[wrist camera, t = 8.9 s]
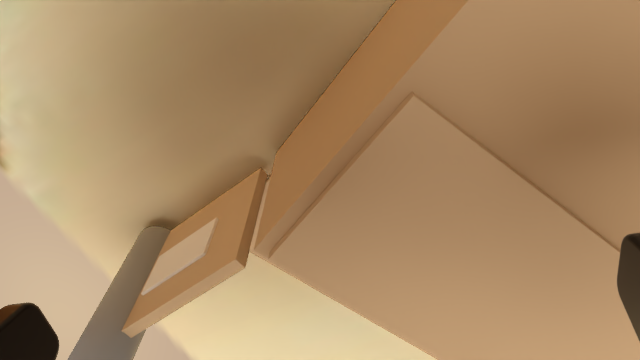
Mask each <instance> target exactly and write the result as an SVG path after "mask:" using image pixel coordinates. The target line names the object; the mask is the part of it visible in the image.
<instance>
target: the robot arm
mask: <svg viewBox="0 0 640 360" xmlns="http://www.w3.org/2000/svg"><path fill="white" fill-rule="evenodd" d="M617 288H618V293H619V296H620V298H621V301H622V303H623V305H624V308H625V310H626V312H627V314H628V317H629V319H630V321H631V324H632V326H633V328H634V330H635V333H636V335H637V337H638V340H639V342H640V233H633V234H628V235H626V236H625V237H624V238H623V240H622V243H621V249H620V257H619V265H618V273H617ZM58 350H59V340H58V337H57V335H56V334H55V332H54V330H53V329H52V327H51V325H50V324H49V322H48V321H47V319H46V318H45V316H44V315H43V313H42V312H41V310H40V309H39V307H38V306H36V305H35V304H33V303H20V304H12V305H8V306H5V307H3V308H2V309H0V360H55V359H56V357H57V354H58Z"/></svg>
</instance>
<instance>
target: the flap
mask: <svg viewBox="0 0 640 360" xmlns="http://www.w3.org/2000/svg"><path fill="white" fill-rule="evenodd" d="M267 176H268V175H267V173H266V172H265V171H264V170H263V169H262V168H260V169H258V170H257V171H255V172H254V173H253V174H251V175H250V176H248V177H247V178H245V179H244V180H243V181H241V182H240V183H238V184H237V185H235V186H234V187H232V188H231V189H230V190H228V191H227V192H225V193H224V194H222V195H221V196H220V197H218V198H217V199H215V200H214V201H212V202H211V203H210V204H208V205H207V206H205V207H204V208H202V209H201V210H199V211H198V212H197V213H195V214H194V215H192V216H191V217H189V218H188V219H187V220H185V221H184V222H182V223H181V224H179V225H178V226H177V227H175V228H174V229H172V230H171V231H170V230H169V229H166V228H164V227H159V226H153V227H148V228H146V229H144V230H143V231H142V232H141V233H140V235H139V236H138V238H137V240H136V242H135V243H134V245H133V247H132V248H131V250H130V252H129V254H128V255H127V257H126V259H125V261H124V262H123V264H122V266H121V268H120V269H119V271H118V273H117V275H116V276H115V278H114V280H113V281H112V283H111V285H110V287H109V288H108V290H107V292H106V294H105V295H104V297H103V299H102V301H101V302H100V304H99V306H98V308H97V309H96V311H95V313H94V315H93V316H92V318H91V320H90V321H89V323H88V325H87V327H86V328H85V330H84V332H83V334H82V335H81V337H80V339H79V341H78V342H77V344H76V346H75V348H74V349H73V351H72V353H71V355H70V356H69V358H68V360H133V358H134V356H135V353H136V351H137V349H138V346H139V344H140V342H141V340H142V337H143V335H144V333H145V331H146V328H148V327H150V326H151V325H153V324H155V323H156V322H158V321H160V320H161V319H163V318H164V317H166V316H168V315H169V314H171V313H173V312H174V311H176V310H177V309H179V308H181V307H182V306H184V305H186V304H187V303H189V302H190V301H192V300H194V299H195V298H197V297H199V296H200V295H202V294H203V293H205V292H207V291H208V290H210V289H212V288H213V287H215V286H216V285H218V284H220V283H221V282H223V281H224V280H226V279H228V278H229V277H231V276H233V275H234V274H236V273H237V272H239V271H241V270H242V269H244V268H245V266H246V262H247V258H248V254H249V250H250V246H251V242H252V238H253V233H254V229H255V225H256V221H257V217H258V213H259V209H260V205H261V201H262V197H263V193H264V189H265V185H266V180H267Z"/></svg>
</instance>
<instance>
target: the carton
mask: <svg viewBox="0 0 640 360" xmlns="http://www.w3.org/2000/svg"><path fill="white" fill-rule="evenodd" d="M633 233H640V0H396V1H395V2H394V4H393V5H392V6H391V8H390V9H389V10H388V11H387V13H386V14H385V15H384V16H383V18H382V19H381V20H380V22H379V23H378V24H377V25H376V27H375V28H374V29H373V30H372V32H371V33H370V34H369V36H368V37H367V38H366V39H365V41H364V42H363V43H362V44H361V46H360V47H359V48H358V50H357V51H356V52H355V53H354V55H353V56H352V57H351V58H350V60H349V61H348V62H347V64H346V65H345V66H344V67H343V69H342V70H341V71H340V72H339V74H338V75H337V76H336V78H335V79H334V80H333V81H332V83H331V84H330V85H329V86H328V88H327V89H326V90H325V92H324V93H323V94H322V95H321V97H320V98H319V99H318V100H317V102H316V103H315V104H314V106H313V107H312V108H311V109H310V111H309V112H308V113H307V114H306V116H305V117H304V118H303V120H302V121H301V122H300V123H299V125H298V126H297V127H296V128H295V130H294V131H293V132H292V134H291V135H290V136H289V137H288V139H287V140H286V141H285V142H284V144H283V145H282V146H281V148H280V149H279V150H278V151H277V153H276V157H275V161H274V165H273V169H272V174H271V176H270V178H269V179H268V180H267V181H266V185H265V189H264V193H263V197H262V201H261V205H260V209H259V213H258V217H257V221H256V225H255V229H254V233H253V238H252V242H251V246H250V250H249V252H251V253H253V254H255V255H256V256H258V257H260V258H262V259H263V260H265V261H267V262H269V263H270V264H272V265H274V266H276V267H277V268H279V269H281V270H283V271H284V272H286V273H288V274H290V275H291V276H293V277H295V278H296V279H298V280H300V281H302V282H303V283H305V284H307V285H309V286H310V287H312V288H314V289H316V290H317V291H319V292H321V293H323V294H324V295H326V296H328V297H330V298H331V299H333V300H335V301H337V302H338V303H340V304H342V305H344V306H345V307H347V308H349V309H351V310H352V311H354V312H356V313H357V314H359V315H361V316H363V317H364V318H366V319H368V320H370V321H371V322H373V323H375V324H377V325H378V326H380V327H382V328H384V329H385V330H387V331H389V332H391V333H392V334H394V335H396V336H398V337H399V338H401V339H403V340H405V341H406V342H408V343H410V344H411V345H413V346H415V347H417V348H418V349H420V350H422V351H424V352H425V353H427V354H429V355H431V356H432V357H434V358H436V359H438V360H640V342H639V340H638V337H637V335H636V333H635V330H634V328H633V326H632V324H631V321H630V319H629V317H628V314H627V312H626V310H625V308H624V305H623V303H622V301H621V298H620V296H619V293H618V288H617V273H618V265H619V257H620V249H621V243H622V240H623V238H624V237H625V236H626V235H628V234H633Z"/></svg>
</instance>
